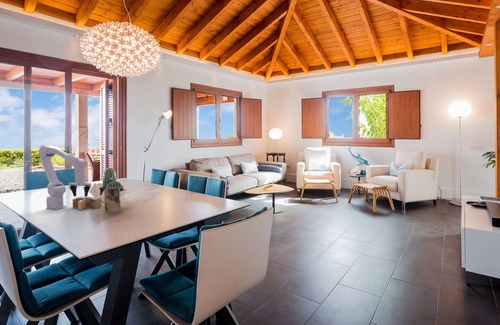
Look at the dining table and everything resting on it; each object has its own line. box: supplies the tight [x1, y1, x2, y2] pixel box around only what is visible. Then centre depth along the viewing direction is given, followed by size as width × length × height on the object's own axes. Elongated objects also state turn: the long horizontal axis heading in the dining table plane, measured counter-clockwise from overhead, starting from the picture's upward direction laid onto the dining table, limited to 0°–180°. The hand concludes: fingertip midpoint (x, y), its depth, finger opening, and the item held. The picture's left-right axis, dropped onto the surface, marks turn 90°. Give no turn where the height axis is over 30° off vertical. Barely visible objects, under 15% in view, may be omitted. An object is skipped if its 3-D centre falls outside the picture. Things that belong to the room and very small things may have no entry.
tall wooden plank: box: [77, 199, 87, 211], centre depth 202 cm, size 2×12×6 cm, turn 1°
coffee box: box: [103, 186, 122, 214], centre depth 194 cm, size 9×6×16 cm
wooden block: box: [72, 196, 102, 209], centre depth 206 cm, size 16×8×7 cm, turn 91°
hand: (80, 196), depth 197 cm, fingers open, 7 cm apart
